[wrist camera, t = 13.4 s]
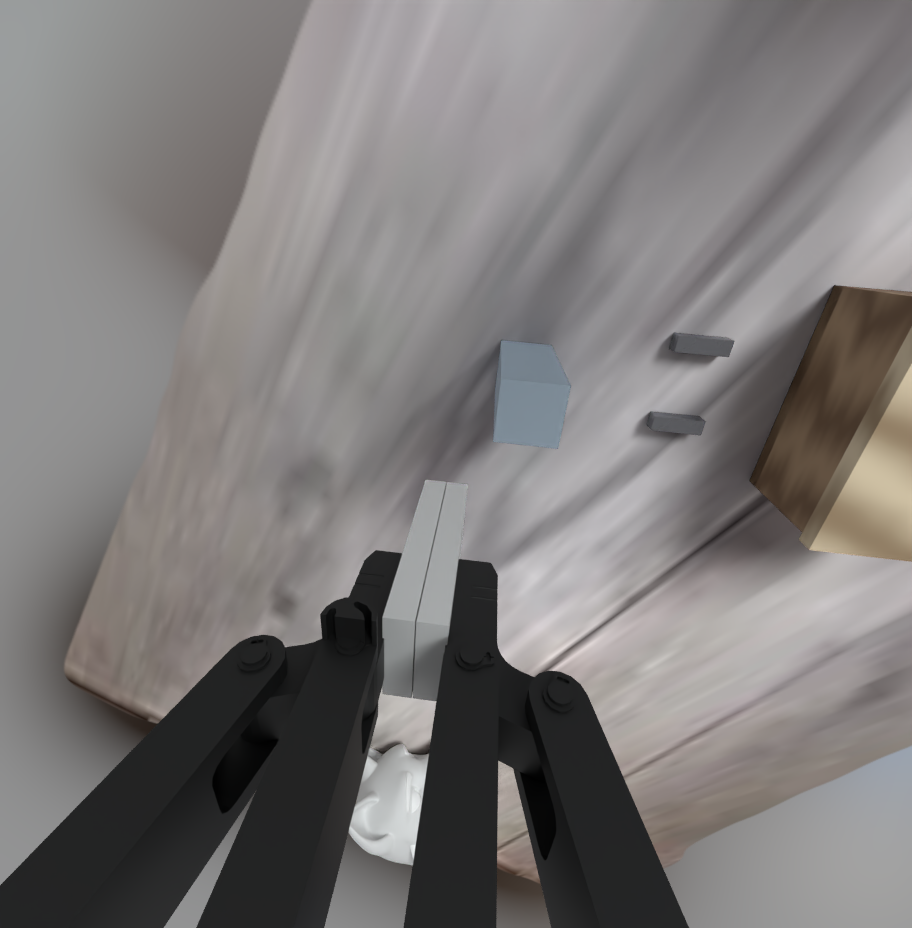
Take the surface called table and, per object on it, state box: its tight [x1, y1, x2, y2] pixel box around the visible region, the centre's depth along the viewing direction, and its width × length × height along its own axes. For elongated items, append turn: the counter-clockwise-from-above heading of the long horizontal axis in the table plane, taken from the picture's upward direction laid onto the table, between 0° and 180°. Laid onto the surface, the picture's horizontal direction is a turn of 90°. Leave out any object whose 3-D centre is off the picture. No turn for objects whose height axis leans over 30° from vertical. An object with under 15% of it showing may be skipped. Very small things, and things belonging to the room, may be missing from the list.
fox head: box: [348, 744, 429, 865], centre depth 57 cm, size 13×17×20 cm
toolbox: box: [750, 285, 912, 532], centre depth 31 cm, size 16×12×8 cm
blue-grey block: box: [493, 340, 571, 449], centre depth 31 cm, size 4×4×11 cm
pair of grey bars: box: [647, 333, 734, 435], centre depth 35 cm, size 8×4×1 cm, turn 176°
